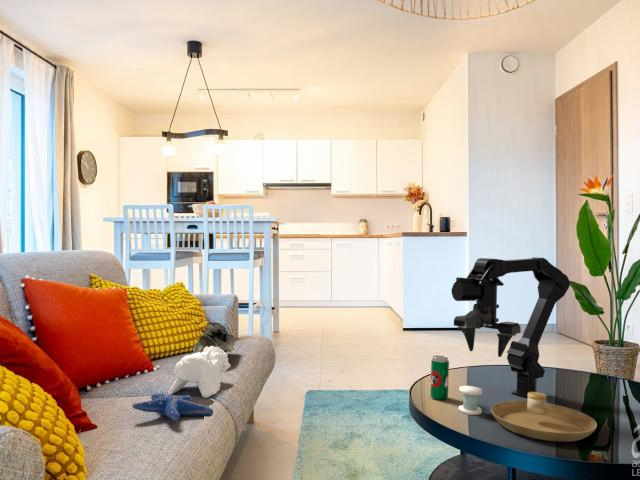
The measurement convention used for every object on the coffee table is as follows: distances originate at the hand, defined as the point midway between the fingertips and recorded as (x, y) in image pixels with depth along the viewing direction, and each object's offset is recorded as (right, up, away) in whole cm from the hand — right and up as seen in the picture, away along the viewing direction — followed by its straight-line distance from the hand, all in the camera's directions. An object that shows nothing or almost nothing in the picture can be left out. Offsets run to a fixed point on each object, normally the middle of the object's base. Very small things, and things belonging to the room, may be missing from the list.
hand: (485, 353), depth 146 cm
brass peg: (+6, -10, -20) cm, 23 cm away
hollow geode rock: (-87, -11, +40) cm, 97 cm away
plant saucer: (+7, -14, -22) cm, 27 cm away
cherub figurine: (-84, -11, +1) cm, 85 cm away
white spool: (-8, -13, -12) cm, 19 cm away
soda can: (-14, -13, -1) cm, 19 cm away
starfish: (-85, -11, -22) cm, 88 cm away
